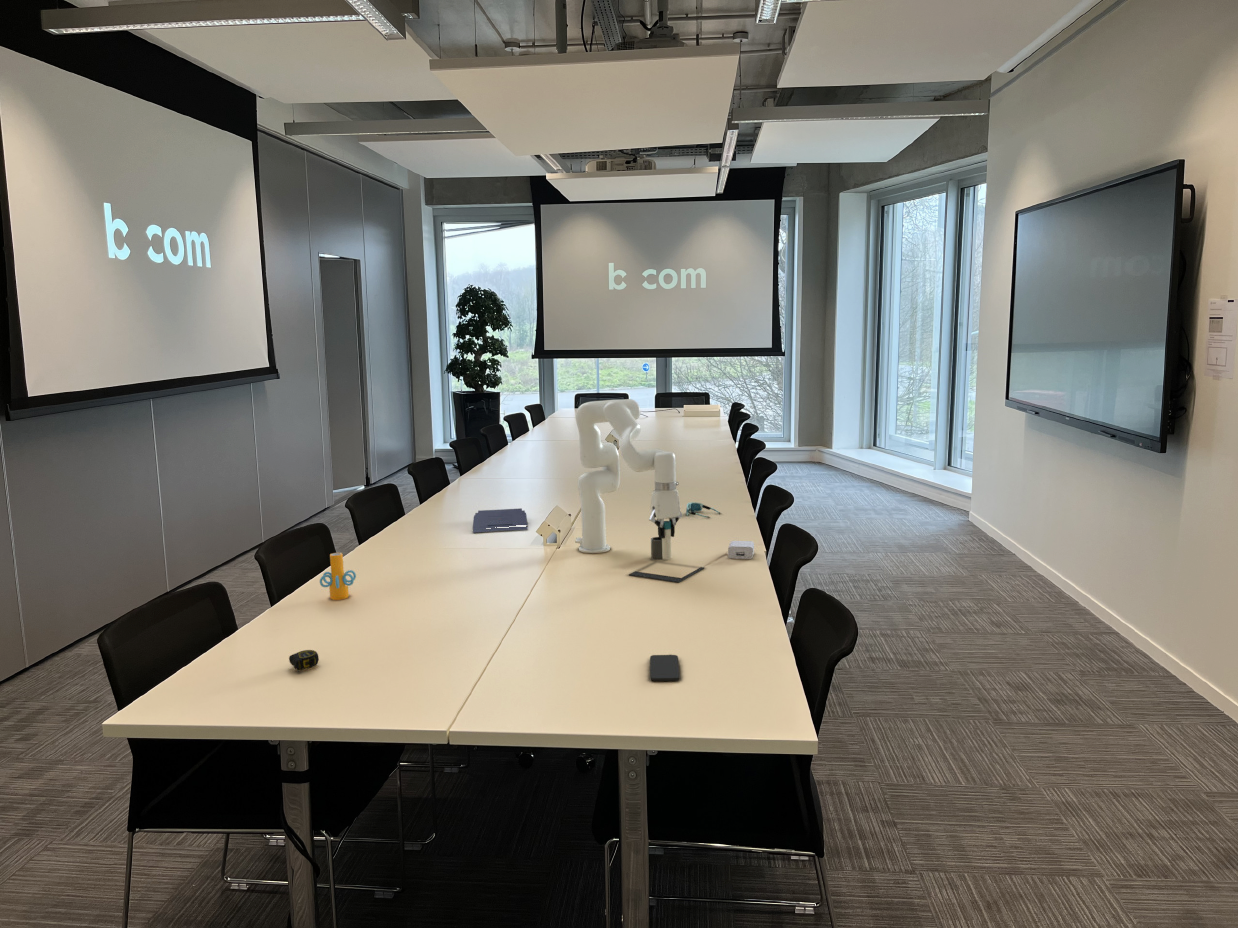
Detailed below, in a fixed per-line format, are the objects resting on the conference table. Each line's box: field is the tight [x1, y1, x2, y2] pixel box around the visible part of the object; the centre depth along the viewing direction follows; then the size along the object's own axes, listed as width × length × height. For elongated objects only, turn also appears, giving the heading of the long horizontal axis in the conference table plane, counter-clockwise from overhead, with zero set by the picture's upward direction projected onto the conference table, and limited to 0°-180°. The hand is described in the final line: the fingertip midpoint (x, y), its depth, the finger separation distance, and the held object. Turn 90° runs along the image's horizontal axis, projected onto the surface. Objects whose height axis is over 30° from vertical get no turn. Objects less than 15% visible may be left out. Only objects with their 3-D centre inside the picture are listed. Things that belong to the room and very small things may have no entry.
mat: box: [628, 566, 705, 584], centre depth 306 cm, size 20×20×1 cm
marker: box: [662, 520, 672, 561], centre depth 304 cm, size 3×3×14 cm
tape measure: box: [288, 649, 320, 672], centre depth 226 cm, size 7×7×4 cm
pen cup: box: [650, 536, 664, 561], centre depth 323 cm, size 6×6×8 cm
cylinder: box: [319, 552, 357, 601], centre depth 285 cm, size 12×10×15 cm
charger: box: [727, 540, 755, 560], centre depth 328 cm, size 5×9×15 cm
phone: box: [649, 654, 681, 682], centre depth 218 cm, size 7×1×15 cm
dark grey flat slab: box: [472, 507, 529, 534], centre depth 389 cm, size 24×30×4 cm
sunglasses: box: [685, 501, 722, 519], centre depth 399 cm, size 14×15×5 cm
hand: (666, 536), depth 304 cm, fingers closed on marker, 3 cm apart
